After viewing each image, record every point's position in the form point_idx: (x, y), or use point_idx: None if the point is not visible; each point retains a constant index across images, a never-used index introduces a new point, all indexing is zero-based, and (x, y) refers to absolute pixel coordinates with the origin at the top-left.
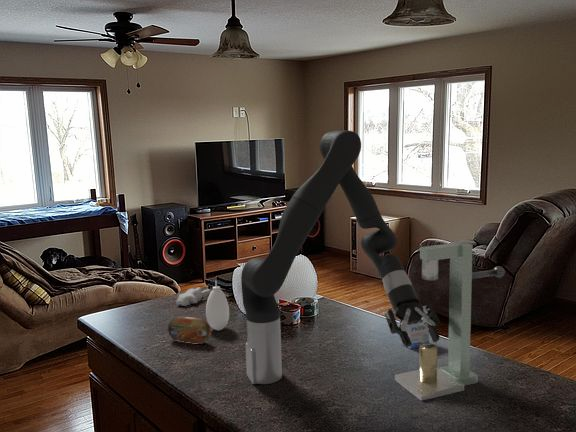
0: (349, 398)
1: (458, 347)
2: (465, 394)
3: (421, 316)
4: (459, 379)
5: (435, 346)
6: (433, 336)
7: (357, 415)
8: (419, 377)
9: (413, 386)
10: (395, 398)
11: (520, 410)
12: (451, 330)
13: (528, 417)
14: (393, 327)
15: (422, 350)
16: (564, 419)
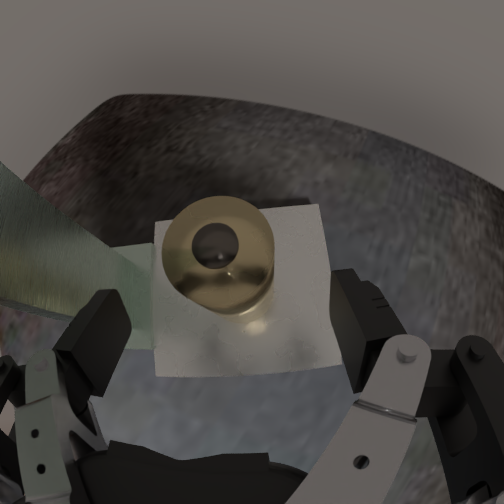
0: (480, 282)
1: (72, 236)
2: (173, 209)
3: (70, 455)
4: (149, 244)
5: (170, 240)
6: (112, 328)
7: (470, 206)
8: (272, 298)
9: (317, 260)
10: (381, 247)
11: (127, 133)
12: (15, 271)
13: (136, 115)
14: (491, 363)
15: (271, 231)
16: (99, 110)
